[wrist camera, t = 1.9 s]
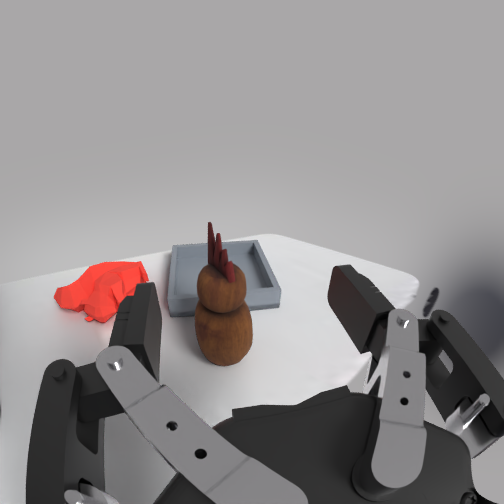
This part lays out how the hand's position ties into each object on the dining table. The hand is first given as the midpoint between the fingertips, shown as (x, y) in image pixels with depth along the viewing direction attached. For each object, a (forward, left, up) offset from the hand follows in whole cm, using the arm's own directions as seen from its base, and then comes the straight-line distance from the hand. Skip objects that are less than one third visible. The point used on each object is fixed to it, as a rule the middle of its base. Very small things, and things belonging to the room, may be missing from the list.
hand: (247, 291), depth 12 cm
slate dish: (+1, +25, -17) cm, 30 cm away
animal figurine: (-17, +21, -17) cm, 32 cm away
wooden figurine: (0, +11, -17) cm, 21 cm away
